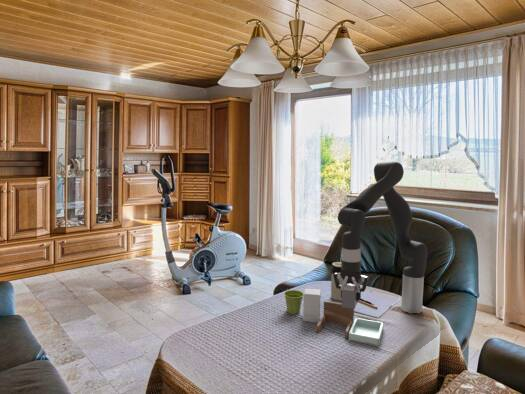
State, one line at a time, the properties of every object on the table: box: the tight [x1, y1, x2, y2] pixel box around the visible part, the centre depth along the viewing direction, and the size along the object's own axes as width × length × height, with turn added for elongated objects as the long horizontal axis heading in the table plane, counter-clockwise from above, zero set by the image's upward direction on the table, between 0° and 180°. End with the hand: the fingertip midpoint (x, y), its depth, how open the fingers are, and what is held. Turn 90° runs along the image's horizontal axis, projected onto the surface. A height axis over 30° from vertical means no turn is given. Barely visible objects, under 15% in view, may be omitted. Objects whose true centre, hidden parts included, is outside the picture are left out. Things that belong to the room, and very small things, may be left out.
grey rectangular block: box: [341, 284, 359, 310], centre depth 153 cm, size 10×5×8 cm, turn 156°
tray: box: [348, 317, 384, 347], centre depth 158 cm, size 16×12×3 cm
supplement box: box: [302, 288, 322, 323], centre depth 173 cm, size 7×7×13 cm
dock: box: [315, 300, 355, 340], centre depth 163 cm, size 13×13×9 cm
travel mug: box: [330, 261, 344, 302], centre depth 196 cm, size 8×8×18 cm
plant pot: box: [283, 289, 304, 314], centre depth 180 cm, size 9×9×9 cm
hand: (350, 299), depth 154 cm, fingers closed on grey rectangular block, 5 cm apart
